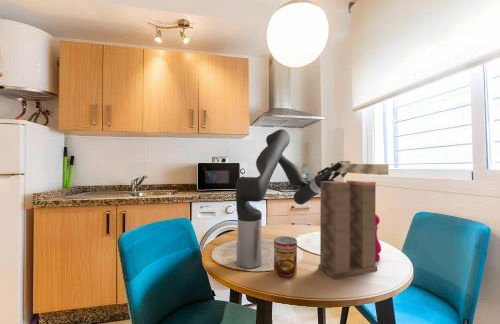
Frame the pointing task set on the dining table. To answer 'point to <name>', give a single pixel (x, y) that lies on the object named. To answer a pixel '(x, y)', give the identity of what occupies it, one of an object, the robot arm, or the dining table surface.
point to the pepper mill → (377, 244)
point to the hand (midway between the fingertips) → (344, 164)
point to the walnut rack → (347, 228)
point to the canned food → (285, 257)
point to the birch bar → (363, 168)
